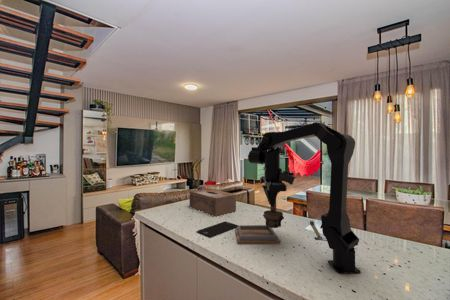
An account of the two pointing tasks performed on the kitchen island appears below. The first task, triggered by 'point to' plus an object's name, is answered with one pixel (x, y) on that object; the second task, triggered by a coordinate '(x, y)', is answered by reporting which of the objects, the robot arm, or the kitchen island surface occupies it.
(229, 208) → the tissue box cover
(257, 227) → the locating frame
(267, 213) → the industrial component
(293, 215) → the kitchen island surface
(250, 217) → the kitchen island surface
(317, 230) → the claw hammer
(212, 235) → the cell phone
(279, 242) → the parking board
